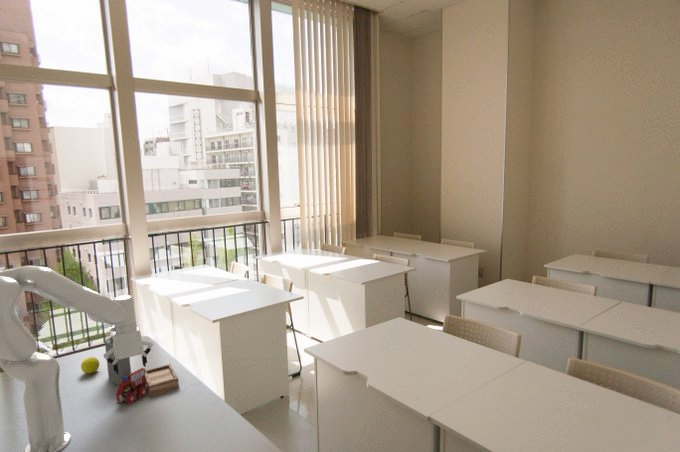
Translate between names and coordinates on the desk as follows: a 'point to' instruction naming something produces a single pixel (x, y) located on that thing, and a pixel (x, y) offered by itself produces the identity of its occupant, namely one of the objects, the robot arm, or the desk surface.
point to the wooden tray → (161, 379)
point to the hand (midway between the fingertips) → (131, 368)
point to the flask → (123, 365)
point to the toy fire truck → (132, 387)
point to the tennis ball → (90, 365)
